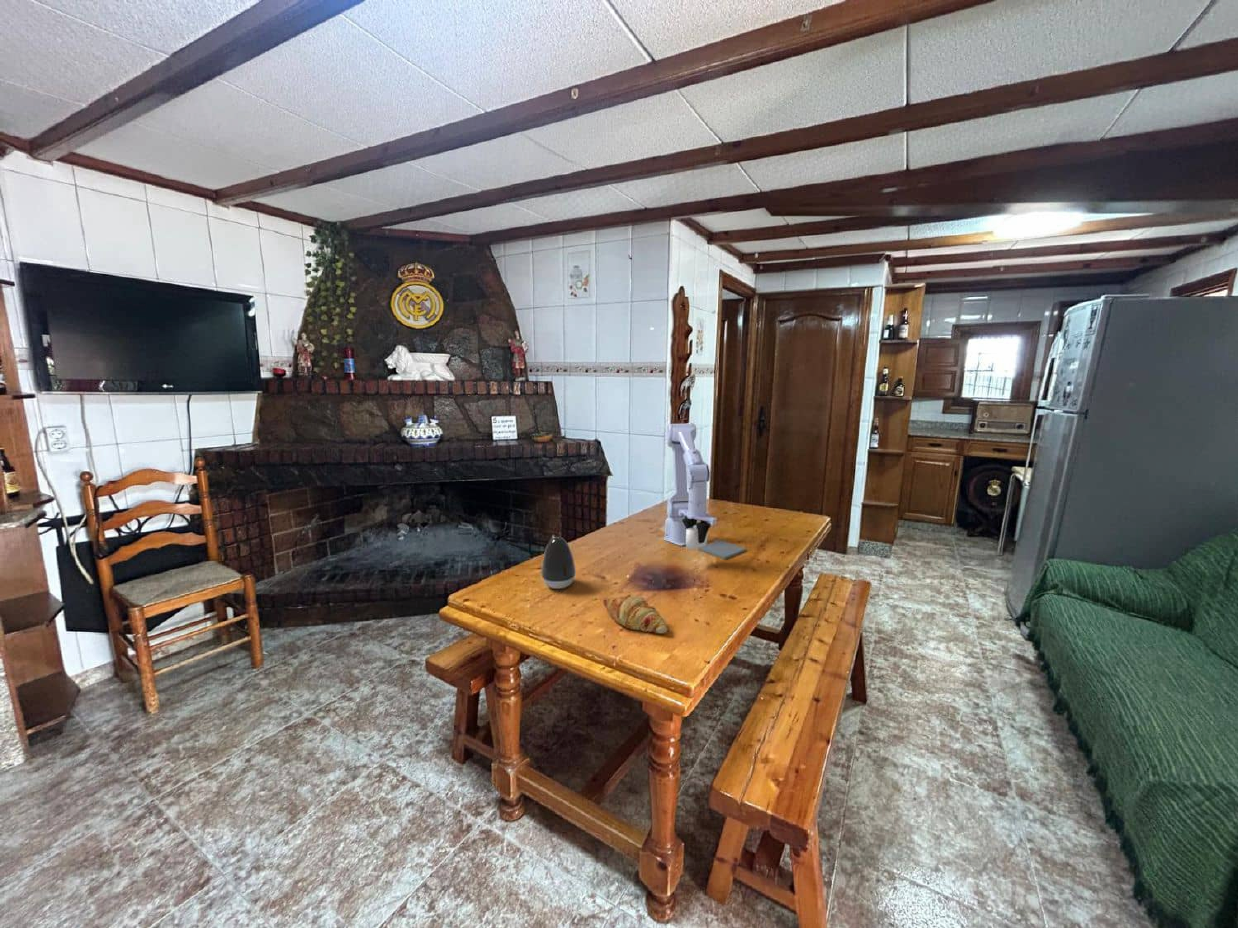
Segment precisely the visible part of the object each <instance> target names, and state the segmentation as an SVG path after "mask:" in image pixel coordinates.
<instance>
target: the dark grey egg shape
mask: <svg viewBox="0 0 1238 928" xmlns="http://www.w3.org/2000/svg"><path fill="white" fill-rule="evenodd" d="M545 547H546V548H545V551H544V555H543V557H542V558H543V559H542V563H541V577H542V579H543V581H544V583H545V585H546V586H547V587H549V588H551V589H556V590H561V589H565V588H567V587H569V586H570V585H572V583H573V581H574V580H575V576H576V573H577V571H576V570H577V569H576V564H575V559H574V557H573V553H572V550H571V547H570V546H569V544H568V542H567V541H566V540H565V538H562V537H561V536H560V537H559V536H556V535H555V534H552V535H551V539H550V540H549V542H548V544H547V545H546V546H545Z"/></svg>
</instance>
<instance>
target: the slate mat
mask: <svg viewBox="0 0 1238 928" xmlns="http://www.w3.org/2000/svg"><path fill="white" fill-rule="evenodd" d="M697 551H699V552H702V553H706V554H709V555H711V556H714V557H716V558H719V559H721V560H727V559H730V558H733V557H735V556H737V555H740V554H741V553H743V552H746V551H747V548H746V547H743V546H739V545H737V544H736V545H735V544H734V543H733V544H732V543H730V542H728V541H724V540H720V539H718V540H715V541H712V542H709V543H707V545H705V546H703V547H700V548H697Z"/></svg>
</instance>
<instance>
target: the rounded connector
mask: <svg viewBox="0 0 1238 928" xmlns="http://www.w3.org/2000/svg"><path fill="white" fill-rule="evenodd" d="M707 544H708V533H707V534H706V538H705V541H704V542H703V543H699V541H698V529H697V526H696V525H694V526H693V527H691V528H688V529H686V545H685V548H686V550H698V548H700V547H703V546H705V545H707Z"/></svg>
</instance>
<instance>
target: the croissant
mask: <svg viewBox="0 0 1238 928" xmlns="http://www.w3.org/2000/svg"><path fill="white" fill-rule="evenodd" d="M603 606H604V607H605V608H606V613H607V614H608V615H609V616H610V617H611V619H613V621H614V622H615V623H617V624H619V625H621V626H623V627H625V628H627V629H629V630H637V631H642V632H649V633H651V632H653V633H654V634H664V633H666V632H667V631H668V627H667V623H666V622H665V620H664V618H663V617H661V614H660V612H658V610H656V607H653V606H650V605H649V604H648V602H647V601H646V599H645V598H644V597H642V596H638V595H635V594H630V593H629V594H627V595H626V596H620V597H618V598H617V597H611V598H607V597H606V598H604V599H603Z"/></svg>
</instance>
